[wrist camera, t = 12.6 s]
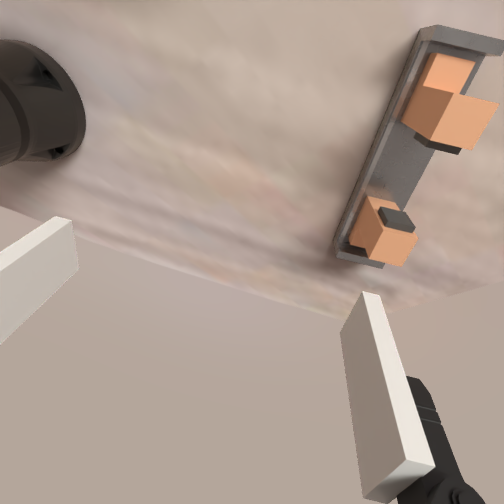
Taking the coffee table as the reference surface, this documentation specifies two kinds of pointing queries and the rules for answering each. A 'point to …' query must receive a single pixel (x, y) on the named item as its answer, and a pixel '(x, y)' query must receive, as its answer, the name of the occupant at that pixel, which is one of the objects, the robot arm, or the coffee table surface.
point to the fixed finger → (446, 106)
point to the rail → (406, 133)
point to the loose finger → (383, 231)
